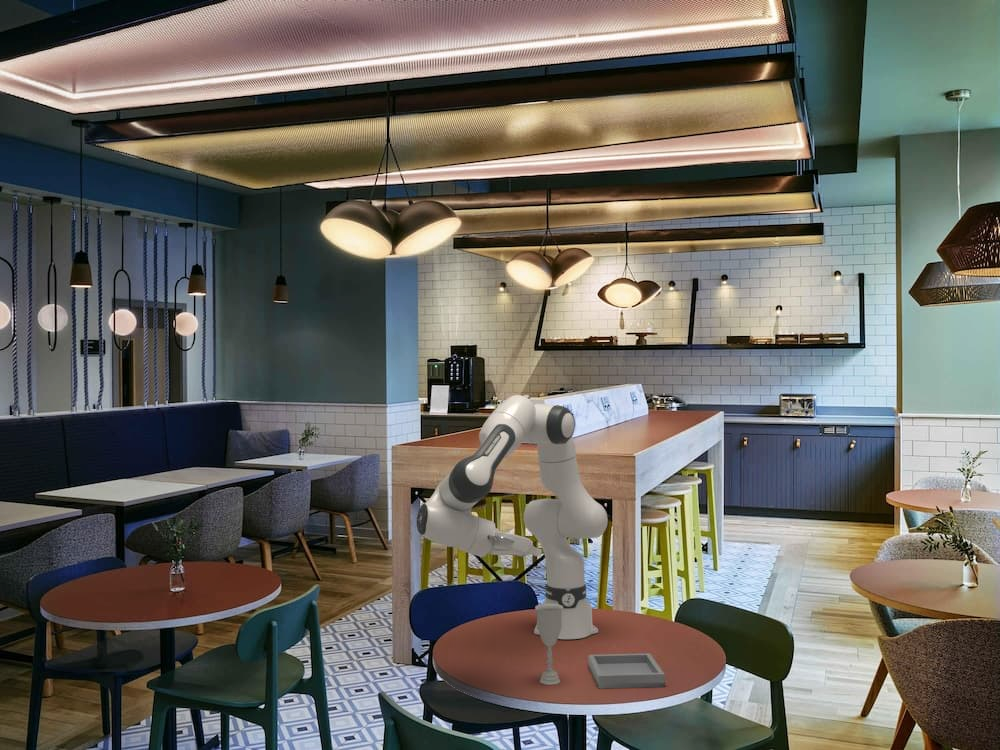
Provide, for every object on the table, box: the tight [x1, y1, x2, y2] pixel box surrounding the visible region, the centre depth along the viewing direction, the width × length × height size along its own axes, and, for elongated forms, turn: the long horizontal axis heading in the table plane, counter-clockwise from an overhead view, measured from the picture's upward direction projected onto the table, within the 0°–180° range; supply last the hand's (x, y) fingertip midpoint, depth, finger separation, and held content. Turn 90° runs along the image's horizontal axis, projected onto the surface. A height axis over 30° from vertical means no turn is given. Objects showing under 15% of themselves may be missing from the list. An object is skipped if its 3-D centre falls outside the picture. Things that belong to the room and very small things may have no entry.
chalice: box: [534, 603, 563, 686], centre depth 206 cm, size 7×7×18 cm
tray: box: [587, 652, 666, 689], centre depth 209 cm, size 16×16×3 cm
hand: (532, 553), depth 206 cm, fingers open, 8 cm apart
